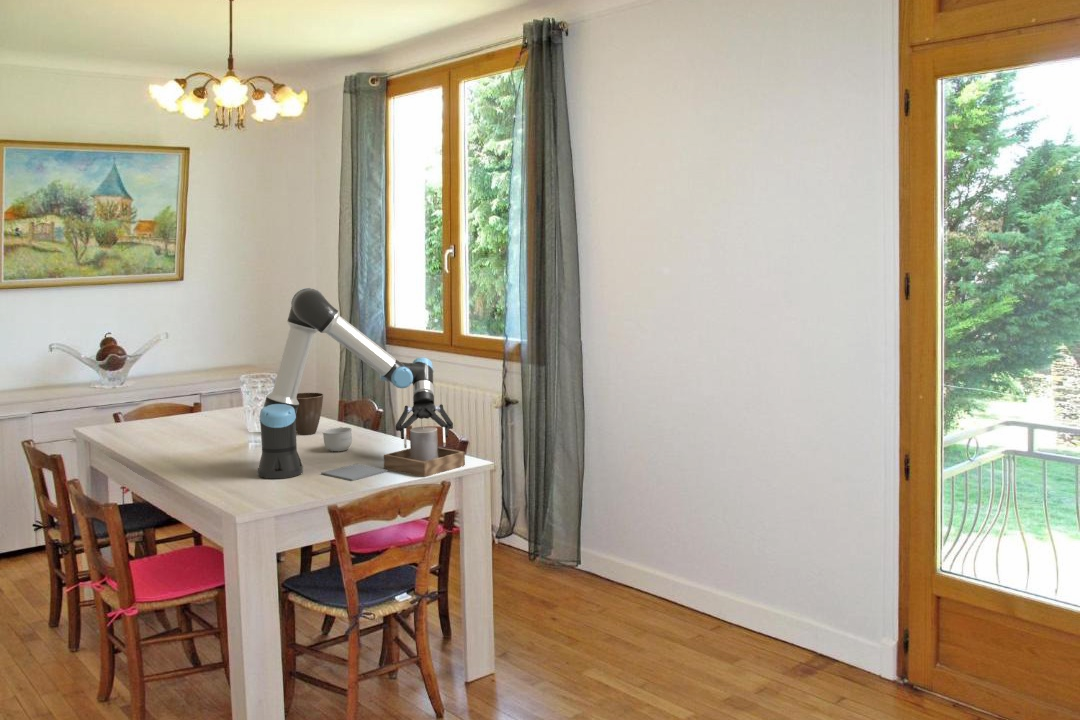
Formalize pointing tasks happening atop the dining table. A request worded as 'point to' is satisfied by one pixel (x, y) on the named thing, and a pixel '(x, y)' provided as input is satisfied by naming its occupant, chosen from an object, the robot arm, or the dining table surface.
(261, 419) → the robot arm
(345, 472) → the grey rubber mat
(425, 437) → the pillar candle
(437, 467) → the walnut box
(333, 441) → the teacup
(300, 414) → the plant pot
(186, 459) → the dining table surface
